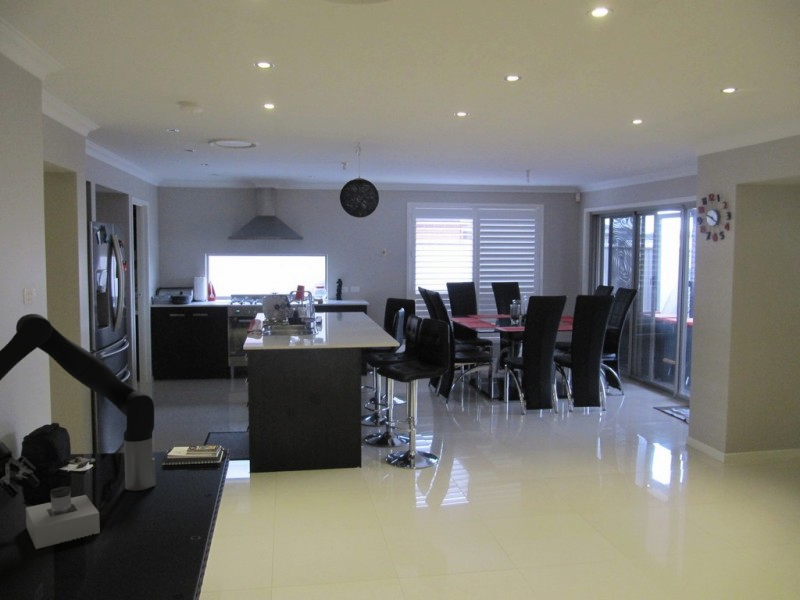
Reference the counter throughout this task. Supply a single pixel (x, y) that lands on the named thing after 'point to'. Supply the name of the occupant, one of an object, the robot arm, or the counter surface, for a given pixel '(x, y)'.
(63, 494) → the lens
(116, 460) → the counter surface
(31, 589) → the counter surface
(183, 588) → the counter surface
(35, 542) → the grey block with recess
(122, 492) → the counter surface
